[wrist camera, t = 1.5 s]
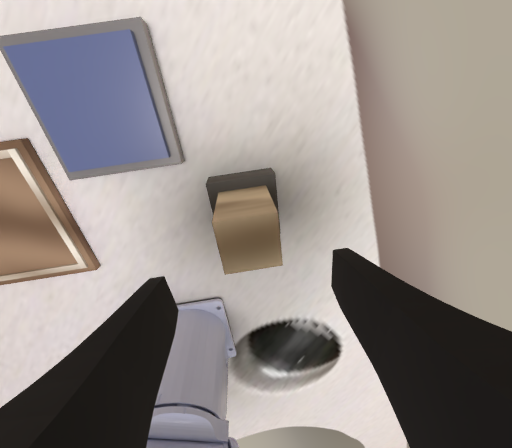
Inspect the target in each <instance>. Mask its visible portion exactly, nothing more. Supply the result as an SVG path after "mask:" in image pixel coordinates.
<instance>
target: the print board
mask: <svg viewBox="0 0 512 448" xmlns="http://www.w3.org/2000/svg"><path fill="white" fill-rule="evenodd" d="M99 267H100V264H99V262H98V261H97V259H96V257H95V255H94V254H93V252H92V250H91V248H90V247H89V245H88V243H87V241H86V240H85V238H84V236H83V234H82V233H81V231H80V229H79V227H78V226H77V224H76V222H75V220H74V219H73V217H72V215H71V213H70V212H69V210H68V208H67V206H66V205H65V203H64V201H63V199H62V198H61V196H60V194H59V192H58V191H57V189H56V187H55V185H54V184H53V182H52V180H51V178H50V176H49V175H48V173H47V171H46V169H45V168H44V166H43V164H42V162H41V161H40V159H39V157H38V155H37V154H36V152H35V150H34V148H33V147H32V145H31V143H30V141H29V140H28V138H27V139H18V140H11V141H4V142H0V285H4V284H11V283H17V282H23V281H30V280H36V279H42V278H49V277H55V276H61V275H68V274H74V273H80V272H87V271H93V270H97V269H98V268H99Z"/></svg>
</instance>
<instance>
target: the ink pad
mask: <svg viewBox="0 0 512 448" xmlns="http://www.w3.org/2000/svg"><path fill="white" fill-rule="evenodd" d="M0 50H1V52H2V54H3V56H4V58H5V60H6V62H7V64H8V65H9V67H10V69H11V71H12V73H13V75H14V77H15V79H16V80H17V82H18V84H19V86H20V88H21V90H22V92H23V94H24V95H25V97H26V99H27V101H28V103H29V105H30V107H31V109H32V111H33V112H34V114H35V116H36V118H37V120H38V122H39V124H40V126H41V127H42V129H43V131H44V133H45V135H46V137H47V139H48V141H49V142H50V144H51V146H52V148H53V150H54V152H55V154H56V156H57V157H58V159H59V161H60V163H61V165H62V167H63V169H64V171H65V172H66V174H67V176H68V178H69V180H76V179H82V178H89V177H96V176H102V175H109V174H116V173H122V172H129V171H136V170H142V169H149V168H156V167H162V166H169V165H176V164H182V163H183V162H184V157H183V153H182V150H181V146H180V142H179V139H178V135H177V132H176V128H175V124H174V121H173V117H172V113H171V110H170V106H169V102H168V99H167V95H166V91H165V88H164V84H163V81H162V77H161V73H160V70H159V66H158V62H157V59H156V55H155V51H154V48H153V44H152V41H151V37H150V33H149V30H148V26H147V23H146V22H145V21H144V20H143V19H142V18H141V17H136V18H129V19H121V20H114V21H107V22H99V23H92V24H85V25H77V26H70V27H63V28H55V29H48V30H41V31H33V32H26V33H19V34H11V35H4V36H0Z"/></svg>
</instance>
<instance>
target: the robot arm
mask: <svg viewBox="0 0 512 448" xmlns="http://www.w3.org/2000/svg"><path fill="white" fill-rule="evenodd" d="M331 286H332V289H333V291H334V294H335V296H336V299H337V301H338V303H339V306H340V308H341V310H342V312H343V313H344V315H345V317H346V319H347V321H348V322H349V324H350V326H351V328H352V329H353V331H354V333H355V335H356V336H357V338H358V340H359V342H360V344H361V345H362V347H363V349H364V351H365V352H366V354H367V356H368V358H369V359H370V361H371V363H372V365H373V367H374V369H375V371H376V373H377V375H378V377H379V379H380V381H381V383H382V385H383V388H384V390H385V392H386V394H387V396H388V399H389V401H390V403H391V405H392V407H393V410H394V412H395V414H396V416H397V419H398V421H399V423H400V426H401V428H402V430H403V432H404V435H405V437H406V439H407V442H408V444H409V446H410V448H512V332H511V331H509V330H506V329H504V328H501V327H499V326H496V325H493V324H491V323H489V322H486V321H484V320H482V319H479V318H477V317H475V316H473V315H470V314H468V313H466V312H464V311H462V310H459V309H457V308H455V307H453V306H451V305H448V304H446V303H444V302H442V301H440V300H438V299H436V298H434V297H432V296H430V295H428V294H426V293H424V292H423V291H420V290H419V289H417V288H415V287H413V286H411V285H409V284H407V283H405V282H404V281H402V280H400V279H399V278H397V277H395V276H393V275H392V274H390V273H388V272H387V271H385V270H383V269H381V268H380V267H378V266H377V265H375V264H373V263H372V262H370V261H368V260H367V259H365V258H364V257H362V256H360V255H359V254H357V253H355V252H354V251H352V250H350V249H348V248H343V249H336V250H333V262H332V285H331ZM217 306H220V307H217ZM234 356H236V348H235V345H234V341H233V338H232V334H231V330H230V327H229V323H228V319H227V316H226V312H225V309H224V305H223V301H222V300H221V299H212V300H206V301H199V302H193V303H187V304H181V305H176V303H175V300H174V298H173V296H172V293H171V291H170V289H169V286H168V284H167V282H166V279H165V277H164V276H163V277H156V278H150V279H149V280H148V281H146V282H145V283H144V284H143V285H142V286H141V287H140V288H139V289H138V290H137V291H136V292H135V293H134V294H133V295H132V296H131V297H130V298H129V299H128V300H127V301H126V302H125V303H124V304H123V305H122V306H121V307H120V308H118V309H117V310H116V311H115V312H114V313H113V314H112V315H111V316H110V317H109V318H108V319H107V320H106V321H105V322H104V323H103V324H102V325H101V326H100V327H98V328H97V329H96V330H95V331H94V332H93V333H92V334H91V335H90V336H89V337H88V338H86V339H85V340H84V341H83V342H82V343H81V344H80V345H79V346H78V347H77V348H75V349H74V350H73V351H72V352H71V353H70V354H68V355H67V356H66V357H65V358H64V359H63V360H61V361H60V362H59V363H58V364H57V365H55V366H54V367H53V368H52V369H50V370H49V371H48V372H47V373H45V374H44V375H43V376H42V377H41V378H39V379H38V380H37V381H36V382H34V383H33V384H32V385H30V386H29V387H28V388H27V389H25V390H24V391H22V392H21V393H20V394H18V395H17V396H16V397H14V398H13V399H12V400H10V401H9V402H8V403H6V404H5V405H4V406H2V407H1V408H0V448H239V445H238V443H237V441H236V440H235V439H234V438H232V437H228V428H229V421H227V420H225V418H226V413H227V386H228V358H230V357H234Z"/></svg>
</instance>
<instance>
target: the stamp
mask: <svg viewBox="0 0 512 448" xmlns="http://www.w3.org/2000/svg"><path fill="white" fill-rule="evenodd" d="M206 187H207V191H208V195H209V199H210V203H211V208H212V212H213V220H212V225H213V229H214V233H215V237H216V241H217V245H218V249H219V253H220V257H221V261H222V265H223V269H224V273H225V275H226V274H232V273H238V272H244V271H250V270H257V269H263V268H269V267H275V266H282V265H283V263H282V252H281V241H280V223H279V212H278V201H277V190H276V179H275V173H274V171H273V170H272V169H271V168H267V169H260V170H253V171H247V172H240V173H234V174H227V175H220V176H214V177H209V178H208V180H207V183H206Z"/></svg>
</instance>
